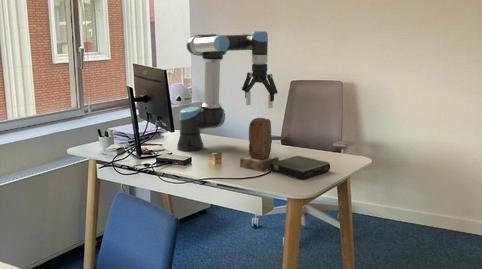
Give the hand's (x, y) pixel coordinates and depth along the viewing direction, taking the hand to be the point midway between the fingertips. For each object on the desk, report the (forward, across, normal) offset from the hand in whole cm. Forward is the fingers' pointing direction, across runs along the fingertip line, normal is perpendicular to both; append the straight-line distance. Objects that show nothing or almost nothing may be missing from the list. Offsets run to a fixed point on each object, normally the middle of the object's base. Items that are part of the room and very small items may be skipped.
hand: (259, 106), depth 263 cm
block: (+26, +1, 0) cm, 26 cm away
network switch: (+31, +22, +4) cm, 38 cm away
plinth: (+30, +1, 0) cm, 30 cm away
